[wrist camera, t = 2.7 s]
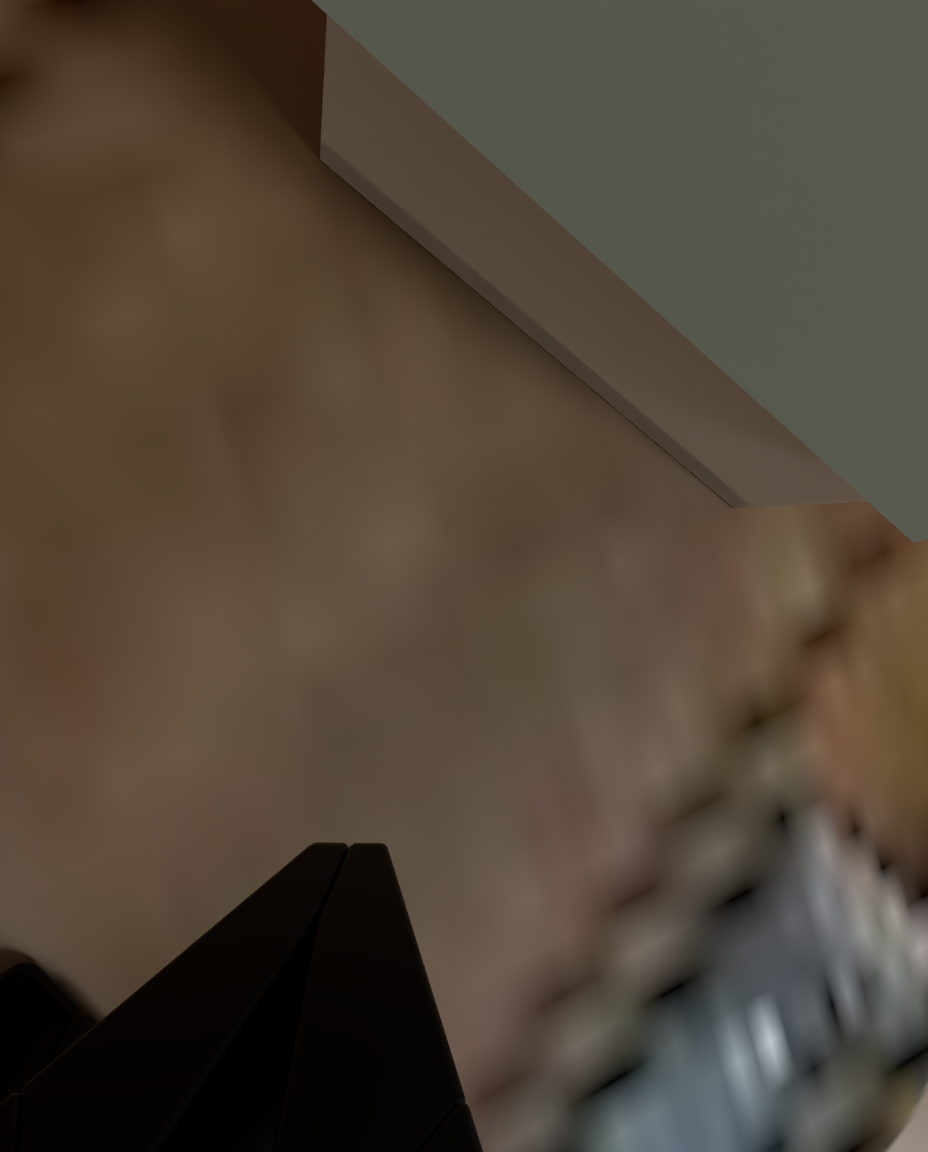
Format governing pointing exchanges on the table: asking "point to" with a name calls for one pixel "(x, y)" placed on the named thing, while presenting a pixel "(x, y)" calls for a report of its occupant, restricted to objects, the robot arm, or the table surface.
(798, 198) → the chest lid
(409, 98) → the chest
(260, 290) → the table surface
